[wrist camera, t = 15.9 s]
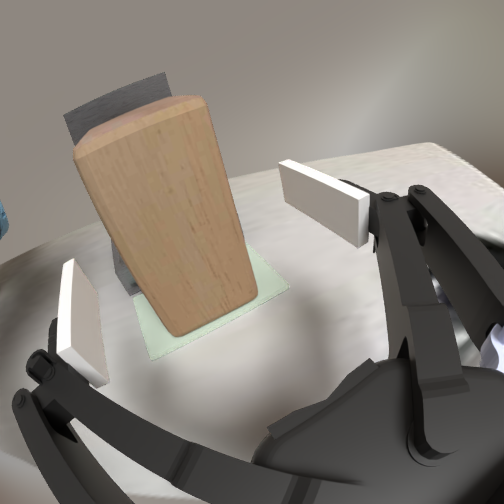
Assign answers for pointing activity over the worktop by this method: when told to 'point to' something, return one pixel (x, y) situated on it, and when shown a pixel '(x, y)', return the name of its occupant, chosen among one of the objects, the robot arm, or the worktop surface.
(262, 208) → the worktop surface
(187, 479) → the robot arm
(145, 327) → the mat
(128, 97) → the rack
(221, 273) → the wooden block
